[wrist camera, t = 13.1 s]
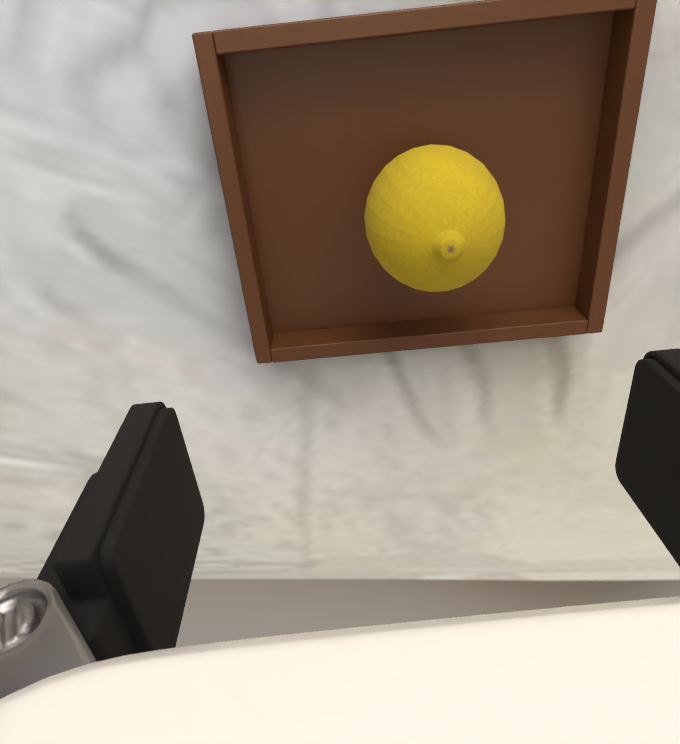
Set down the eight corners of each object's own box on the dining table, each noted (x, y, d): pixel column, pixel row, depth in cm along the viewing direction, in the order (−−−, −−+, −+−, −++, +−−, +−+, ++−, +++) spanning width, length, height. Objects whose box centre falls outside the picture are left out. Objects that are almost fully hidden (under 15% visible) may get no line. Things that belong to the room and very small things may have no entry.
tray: (262, 340, 31) (256, 364, 28) (204, 34, 23) (190, 33, 21) (582, 311, 30) (602, 332, 28) (628, -14, 23) (661, -20, 20)
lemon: (501, 191, 26) (563, 245, 19) (415, 274, 28) (443, 349, 21) (422, 102, 24) (459, 127, 17) (335, 198, 26) (337, 254, 19)
